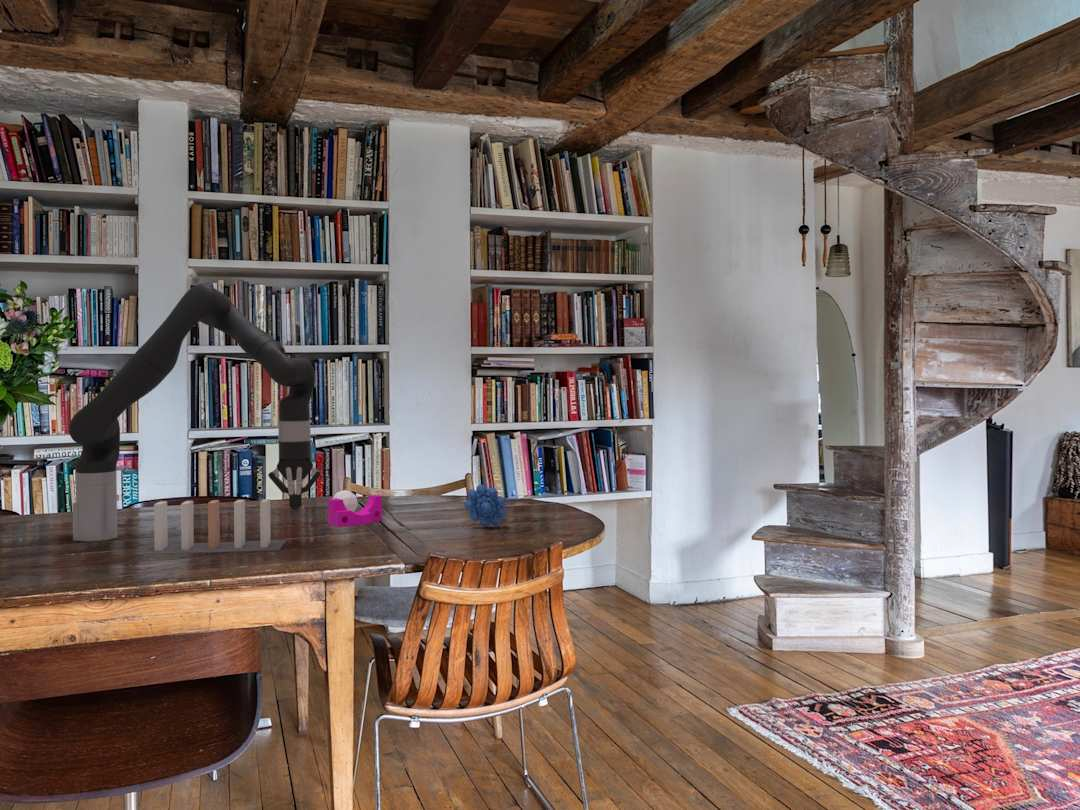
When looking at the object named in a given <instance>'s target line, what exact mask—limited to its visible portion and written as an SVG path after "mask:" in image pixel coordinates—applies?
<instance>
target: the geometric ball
mask: <svg viewBox="0 0 1080 810" xmlns="http://www.w3.org/2000/svg"><path fill="white" fill-rule="evenodd" d="M335 498H338V499H342V500H343V503H344V505H345V507H346V509H347V510H350V511H352V512H353V513H354V512H356V510H357V508H358V506H359V505H358V504H359V502H358V499H357V495H356V494H354V493H353V492H351V491H349V490H346V489H343V490H340V491H338V492H336V493H335V494H334V496H333V497H332V498H331V499H335Z"/></svg>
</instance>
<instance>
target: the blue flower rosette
mask: <svg viewBox="0 0 1080 810" xmlns="http://www.w3.org/2000/svg"><path fill="white" fill-rule="evenodd" d="M467 498H469V499H467V500H465V502H464V507H465V508H466V509H467V510H468V511H469V518H470V520H471V521H473V522H479V525H480V526H481V527H483V528H488V527H489V526H490V524H491V525H492V526H494V527H497V526H499V525H500V524H501V519H504V518H506V517H507V510H506V508H504V507H505V506H506V504H507V503H506V499H505V498H504V497H503V496H501V495H499V492H498V490H497V488H495V487H493V486H490V487H488V488H487V487H486V485H485V484H477V486H476V489H474V488H473V489H472V488H471V489H469V490H468V491H467Z"/></svg>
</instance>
